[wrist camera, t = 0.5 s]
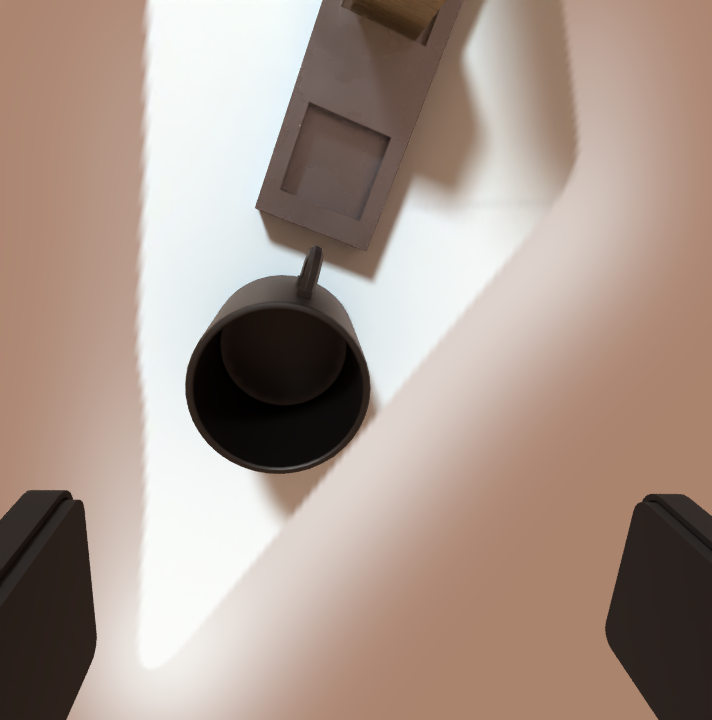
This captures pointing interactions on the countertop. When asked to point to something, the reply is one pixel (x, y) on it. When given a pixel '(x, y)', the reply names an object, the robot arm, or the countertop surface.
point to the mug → (279, 375)
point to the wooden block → (400, 13)
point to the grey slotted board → (350, 120)
